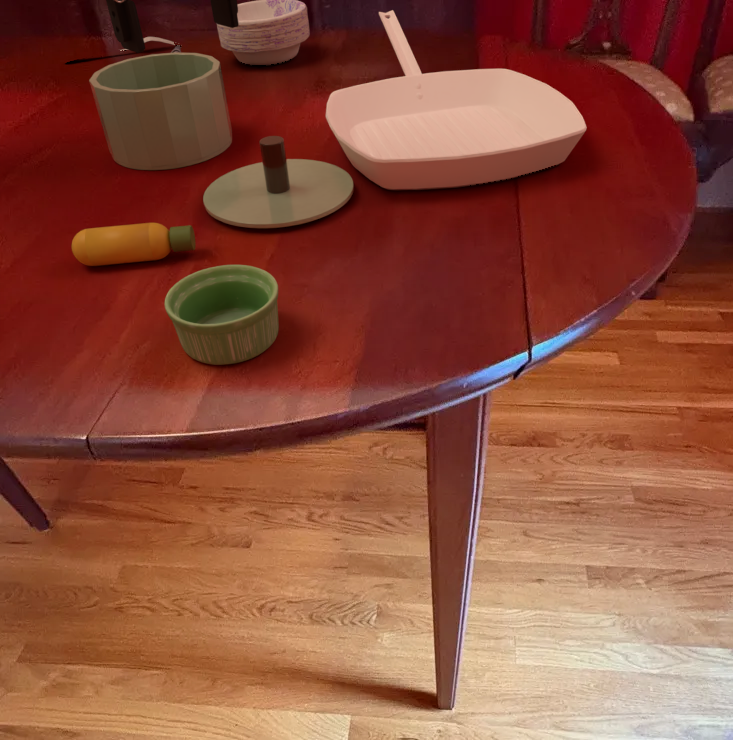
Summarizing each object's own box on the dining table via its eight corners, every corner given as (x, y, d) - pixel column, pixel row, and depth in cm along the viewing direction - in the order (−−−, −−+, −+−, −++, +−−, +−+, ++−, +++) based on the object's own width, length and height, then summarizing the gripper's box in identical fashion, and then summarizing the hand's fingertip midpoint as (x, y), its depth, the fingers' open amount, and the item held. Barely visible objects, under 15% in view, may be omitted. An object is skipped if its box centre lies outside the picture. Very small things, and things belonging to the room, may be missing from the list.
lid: (198, 240, 74) (184, 179, 70) (210, 174, 87) (199, 120, 83) (360, 225, 74) (356, 163, 70) (348, 161, 87) (344, 106, 83)
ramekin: (299, 312, 62) (293, 268, 60) (261, 377, 56) (252, 331, 53) (204, 303, 64) (194, 259, 62) (157, 364, 58) (143, 319, 55)
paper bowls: (205, 65, 123) (195, 14, 118) (266, 42, 133) (259, -6, 128) (269, 77, 116) (262, 23, 111) (330, 52, 125) (325, 2, 120)
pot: (101, 175, 88) (77, 96, 82) (123, 130, 101) (103, 58, 95) (229, 163, 89) (214, 84, 83) (235, 119, 101) (222, 48, 95)
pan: (358, 213, 76) (352, 124, 70) (296, 88, 111) (288, 21, 105) (613, 173, 80) (627, 86, 74) (476, 64, 115) (478, -1, 109)
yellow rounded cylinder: (74, 274, 70) (62, 241, 67) (82, 256, 73) (71, 223, 70) (195, 263, 70) (187, 229, 68) (198, 245, 73) (190, 212, 71)
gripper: (203, -209, 61) (237, 12, 72) (0, -196, 52) (74, 53, 63) (254, -214, 57) (283, 22, 67) (42, -201, 48) (114, 68, 59)
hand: (182, 37), depth 65 cm, fingers open, 9 cm apart
